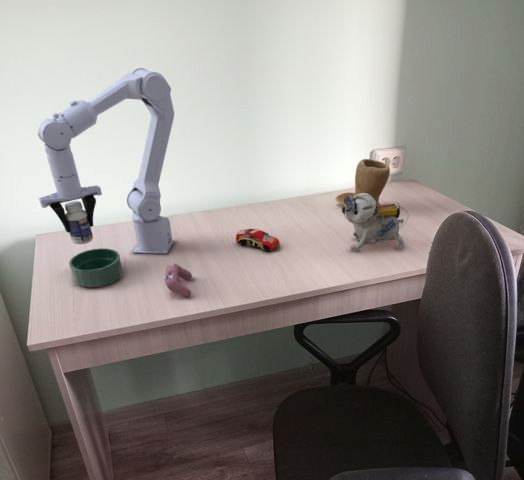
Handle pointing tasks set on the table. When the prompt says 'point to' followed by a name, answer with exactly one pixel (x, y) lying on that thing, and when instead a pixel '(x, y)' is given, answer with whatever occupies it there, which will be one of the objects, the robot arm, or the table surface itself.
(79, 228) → the pill bottle
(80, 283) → the bowl
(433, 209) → the table surface
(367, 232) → the robotic toy
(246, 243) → the race car
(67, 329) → the table surface
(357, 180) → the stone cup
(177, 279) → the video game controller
